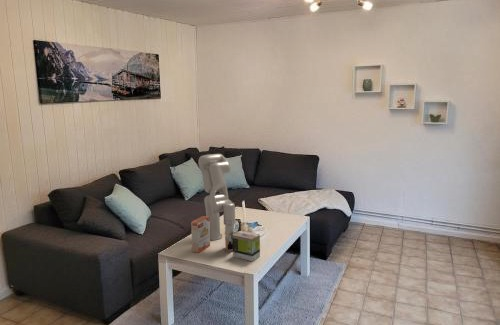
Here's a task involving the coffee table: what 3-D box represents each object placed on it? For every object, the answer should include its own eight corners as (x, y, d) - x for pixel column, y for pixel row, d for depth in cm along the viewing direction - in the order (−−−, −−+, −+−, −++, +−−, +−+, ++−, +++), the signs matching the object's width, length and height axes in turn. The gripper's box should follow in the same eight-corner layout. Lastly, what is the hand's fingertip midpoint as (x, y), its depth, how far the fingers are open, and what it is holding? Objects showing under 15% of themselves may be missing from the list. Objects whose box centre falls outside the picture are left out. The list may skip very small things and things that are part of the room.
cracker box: (199, 253, 251) (198, 223, 247) (191, 252, 254) (190, 221, 250) (210, 245, 264) (209, 216, 260) (203, 244, 266) (202, 215, 262)
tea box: (260, 256, 247) (260, 234, 244) (252, 262, 238) (251, 239, 236) (240, 251, 255) (240, 229, 252) (232, 256, 246) (231, 234, 244)
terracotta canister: (225, 252, 253) (225, 239, 252) (225, 248, 259) (224, 235, 258) (234, 251, 254) (234, 238, 252) (234, 247, 260) (234, 235, 258)
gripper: (223, 217, 261) (223, 242, 264) (223, 226, 244) (224, 252, 247) (234, 216, 262) (234, 242, 265) (235, 225, 245) (236, 252, 248)
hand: (229, 247), depth 256 cm, fingers closed on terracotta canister, 6 cm apart
